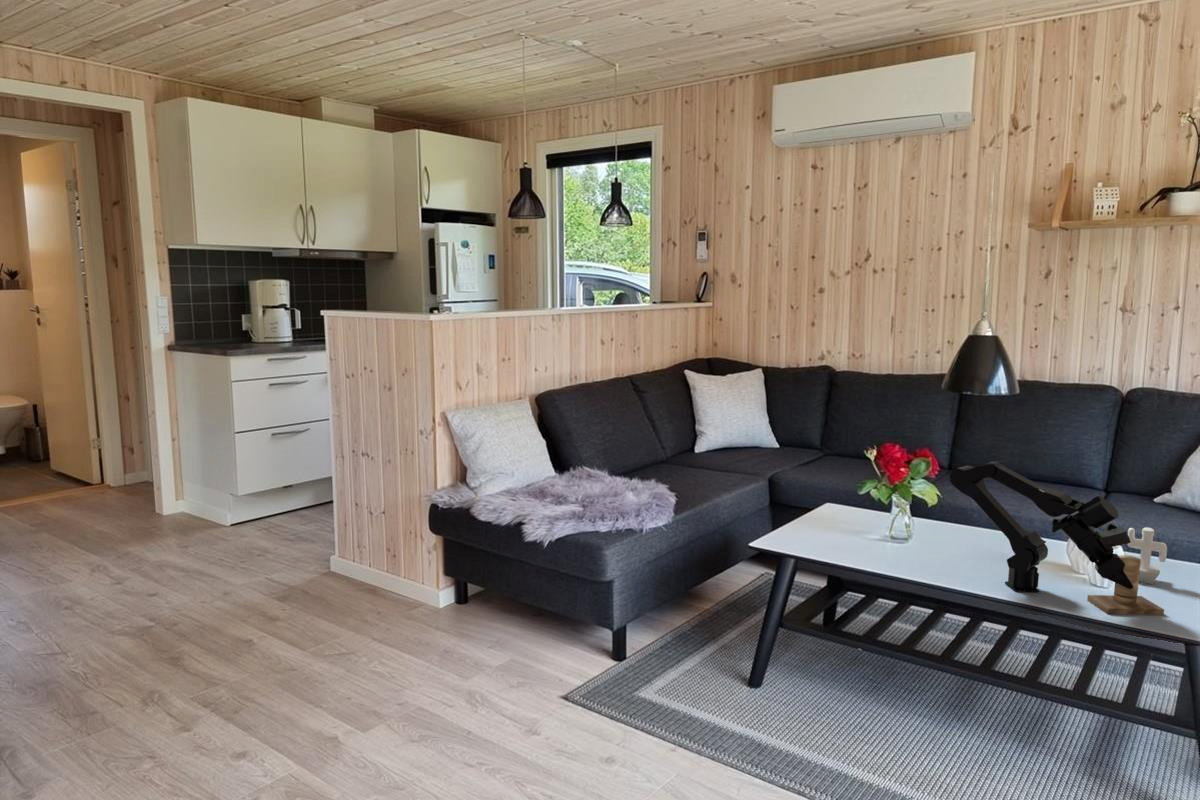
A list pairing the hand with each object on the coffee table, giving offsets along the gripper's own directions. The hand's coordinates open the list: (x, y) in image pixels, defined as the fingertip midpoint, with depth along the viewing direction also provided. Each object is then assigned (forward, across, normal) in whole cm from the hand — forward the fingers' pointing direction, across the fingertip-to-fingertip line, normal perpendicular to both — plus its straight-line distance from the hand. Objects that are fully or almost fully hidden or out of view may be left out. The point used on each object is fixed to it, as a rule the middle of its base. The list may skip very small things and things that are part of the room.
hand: (1127, 582), depth 210 cm
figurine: (+12, +26, -2) cm, 28 cm away
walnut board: (+5, 0, +5) cm, 7 cm away
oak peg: (+5, 0, +5) cm, 7 cm away
